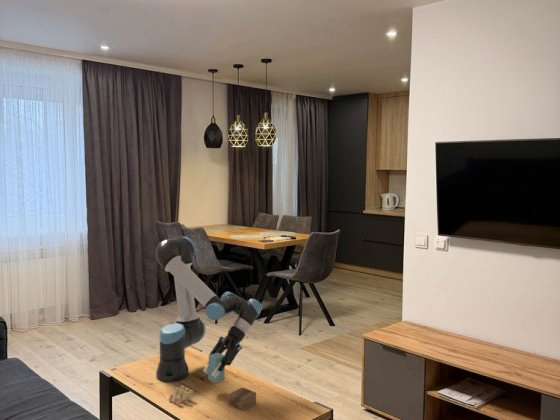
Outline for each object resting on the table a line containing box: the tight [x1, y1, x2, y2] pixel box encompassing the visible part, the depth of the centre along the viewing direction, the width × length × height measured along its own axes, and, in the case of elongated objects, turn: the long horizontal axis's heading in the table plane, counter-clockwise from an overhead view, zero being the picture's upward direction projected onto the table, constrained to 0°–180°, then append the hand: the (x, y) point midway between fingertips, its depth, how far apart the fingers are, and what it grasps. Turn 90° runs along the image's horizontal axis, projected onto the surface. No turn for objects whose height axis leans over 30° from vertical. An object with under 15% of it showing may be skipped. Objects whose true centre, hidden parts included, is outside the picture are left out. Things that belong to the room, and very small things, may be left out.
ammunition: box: [168, 385, 194, 407], centre depth 208 cm, size 5×7×8 cm
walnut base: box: [228, 386, 257, 411], centre depth 206 cm, size 8×8×5 cm
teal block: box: [207, 353, 225, 384], centre depth 216 cm, size 5×5×11 cm
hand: (209, 374), depth 213 cm, fingers closed on teal block, 5 cm apart
